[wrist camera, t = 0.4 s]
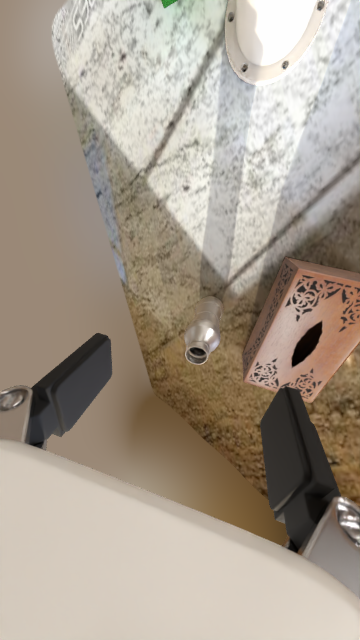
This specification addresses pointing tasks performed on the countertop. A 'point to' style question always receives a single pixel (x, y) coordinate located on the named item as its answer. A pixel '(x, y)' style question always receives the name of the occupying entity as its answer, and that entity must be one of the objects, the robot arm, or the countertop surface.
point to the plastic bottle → (203, 330)
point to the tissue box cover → (304, 328)
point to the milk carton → (168, 2)
